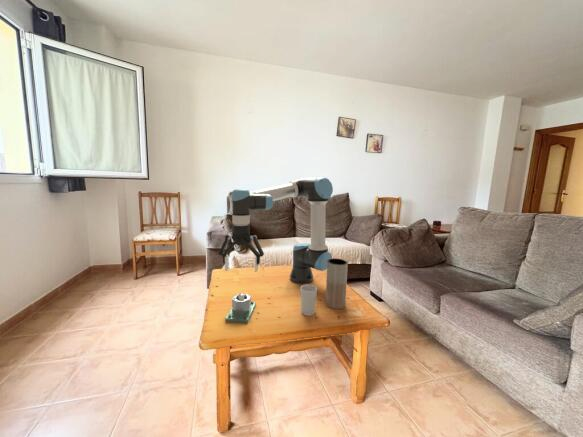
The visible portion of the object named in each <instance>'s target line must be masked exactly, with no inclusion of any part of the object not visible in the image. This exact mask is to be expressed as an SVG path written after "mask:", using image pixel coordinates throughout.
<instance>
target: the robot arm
mask: <svg viewBox="0 0 583 437" xmlns="http://www.w3.org/2000/svg"><path fill="white" fill-rule="evenodd" d="M333 190H334V189H333V183H332V182H331V181H330V179H328V178H327V177H325V176H315V177H313V176H312V177H309V176H308V177H302V178H300V179H296V180H292V181H291V180H290V181H289V182H288V183H287V184H282V185H277V186H272V187H268V188H264V189H259V190H253V191H250V190H249V189H233V190H232V195H231V204H232V208H231V210H232V211H231V212H232V217H231V218H232V234H229V233H228V234H226V235H224V236H225V238H224V240H223V241H224V242H223V243H222V245H221V248H220V249H219V251H218V256H222V263H223V264H224V271H225V272H226V271H227V272H228V270H230V267H229V265H230V264H229V260H230V259H229V252H231V250H232V249H233V248H234V246H235V245H237V246H246V247H247V248H248V249H249V250H250V251H251V252H252V254H253V255H254V256H255V257H254V273H257V272H258V270H259V268H258V266H259V265H260V262H261V257H263V256H264V255H265V252H264V250H263V249H262V247H261V245H260V242H259V241H258V236H257V234H255V235H251V232H250V230H251V228H250V227H251V225H250V224H251V223H250V222H251V218H250V214H251V211H267V210H271V209H272V208H273V205H274V202H275V201H279V200H283V199H288V198H299V197H301V198H307V202H308V203H309V204H310V243H307V242H306V243H304V242H303V243H297V244H294V245H293V249H292V268H291V272H290V274H289V280H290V281H291V282H293V283H296V284H310V283H311V282H313V281H314V275H313V271H312V269H314V270H316V271H320V272H324V271H327V261H328V260H329V259H333V255H332V254H331V252H329V246H328V245H327V244H326V215H327V213H326V205H327V203H328V202H329V198H331V197H332V195H333V192H334V191H333ZM230 240H233V242H232V243H231V244H230V245H229V246H228V248H227V249H226V247H227V245H228V244H229V242H230ZM250 240H251V241H253V243H254V245H255V247H254V245H253V244H252V243H251V241H250Z"/></svg>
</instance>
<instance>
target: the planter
mask: <svg viewBox="0 0 583 437" xmlns="http://www.w3.org/2000/svg"><path fill="white" fill-rule="evenodd" d="M348 264H349V263H348V261H347V260H346V259H343V258H338V257H337V258H333V257H332V259H329V260H328V261H327V269H326V284H325V285H326V286H325V305H326V307H328V308H330V309H334V310H339V309H340V310H341V309H343V308H345V307H346V301H347V287H348V286H347V281H348Z"/></svg>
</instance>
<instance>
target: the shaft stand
mask: <svg viewBox="0 0 583 437" xmlns="http://www.w3.org/2000/svg"><path fill="white" fill-rule="evenodd" d="M237 294H238V300H244V299H245V294H246V293H244V292H241V293H237ZM256 303H257V302H256V301H251V309H250V312H248V313H245V314H235V313H234V312H233V311H232V307H231V308H230V310H229V312H228V313H227V315H226V317H225V318H224V321H230V322H229V323H240V322H241V323H242V324H243V323H244V324H248V323H249V321H250V319H251V317H252V315H253V313H254V310H255V308H256V306H257V304H256Z"/></svg>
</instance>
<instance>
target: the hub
mask: <svg viewBox="0 0 583 437" xmlns="http://www.w3.org/2000/svg"><path fill="white" fill-rule="evenodd" d="M238 294H239V293H237V294H235V295H233V296H232V298H231V308H232V311H233V312H234V313H235V314H245V313H248V312H250V309H251V302H252V296H251V295H250V294H248V293H244V294H245V299H244V300H238Z"/></svg>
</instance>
